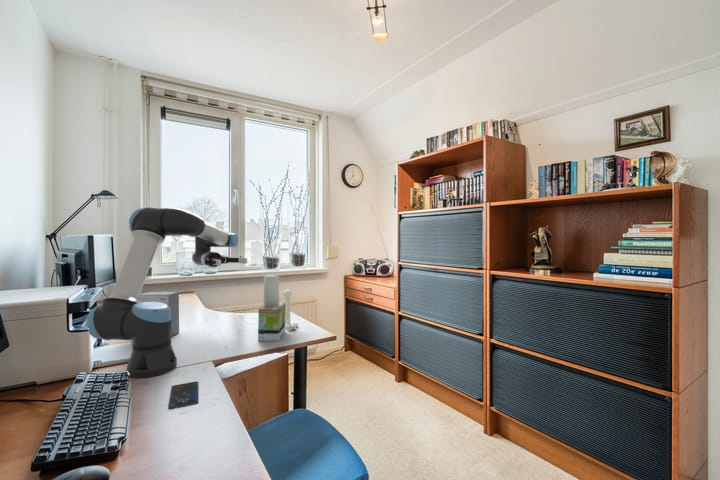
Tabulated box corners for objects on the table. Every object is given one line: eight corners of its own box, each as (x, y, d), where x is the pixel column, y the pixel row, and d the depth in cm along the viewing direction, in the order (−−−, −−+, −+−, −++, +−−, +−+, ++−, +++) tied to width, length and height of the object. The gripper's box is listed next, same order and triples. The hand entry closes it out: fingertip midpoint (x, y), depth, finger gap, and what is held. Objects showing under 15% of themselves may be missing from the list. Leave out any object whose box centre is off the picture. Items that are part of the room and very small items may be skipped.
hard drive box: (180, 332, 158) (179, 292, 158) (169, 338, 151) (169, 295, 150) (150, 331, 160) (150, 291, 160) (138, 336, 152) (137, 294, 152)
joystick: (279, 325, 172) (279, 288, 172) (293, 323, 176) (293, 286, 176) (287, 331, 163) (287, 291, 162) (301, 328, 167) (301, 290, 166)
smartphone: (198, 380, 107) (198, 402, 93) (198, 383, 107) (198, 405, 93) (171, 385, 103) (167, 408, 90) (171, 387, 103) (167, 411, 90)
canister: (269, 307, 150) (269, 277, 149) (260, 305, 154) (260, 276, 154) (281, 305, 155) (282, 275, 155) (273, 303, 160) (273, 274, 159)
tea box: (279, 341, 148) (279, 309, 147) (257, 341, 147) (257, 309, 147) (285, 331, 163) (285, 302, 162) (265, 331, 162) (265, 302, 162)
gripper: (234, 264, 179) (256, 267, 166) (187, 268, 160) (208, 271, 147) (234, 251, 179) (256, 253, 166) (187, 253, 160) (208, 255, 146)
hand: (233, 261), depth 156 cm, fingers open, 13 cm apart
